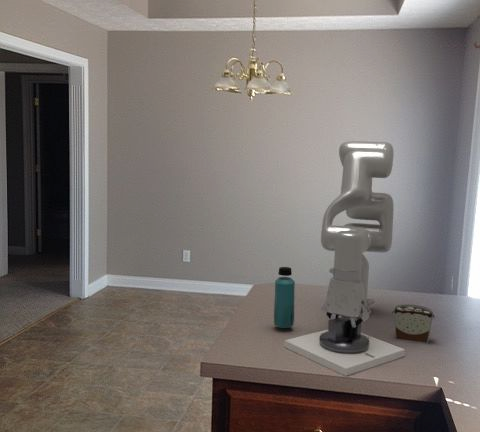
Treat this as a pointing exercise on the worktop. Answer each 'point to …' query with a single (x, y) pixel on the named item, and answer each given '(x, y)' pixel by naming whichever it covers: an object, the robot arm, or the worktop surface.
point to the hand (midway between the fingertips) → (344, 336)
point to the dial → (343, 337)
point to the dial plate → (343, 361)
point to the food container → (412, 323)
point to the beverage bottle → (284, 299)
